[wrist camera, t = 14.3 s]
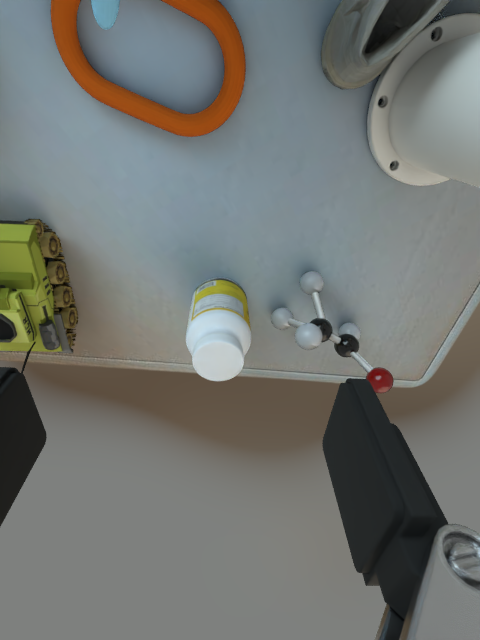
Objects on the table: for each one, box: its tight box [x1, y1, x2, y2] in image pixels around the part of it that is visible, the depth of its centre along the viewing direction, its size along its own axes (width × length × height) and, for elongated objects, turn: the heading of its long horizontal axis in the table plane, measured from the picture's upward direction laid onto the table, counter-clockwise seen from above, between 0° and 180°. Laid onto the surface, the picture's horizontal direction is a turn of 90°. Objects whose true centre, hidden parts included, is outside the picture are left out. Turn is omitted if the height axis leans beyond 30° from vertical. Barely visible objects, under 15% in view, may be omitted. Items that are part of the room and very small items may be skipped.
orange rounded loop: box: [51, 0, 246, 137], centre depth 26 cm, size 10×2×15 cm
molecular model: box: [271, 271, 393, 393], centre depth 37 cm, size 8×12×11 cm
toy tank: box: [0, 219, 78, 374], centre depth 33 cm, size 8×15×10 cm, turn 177°
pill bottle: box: [186, 278, 251, 381], centre depth 35 cm, size 6×6×12 cm
